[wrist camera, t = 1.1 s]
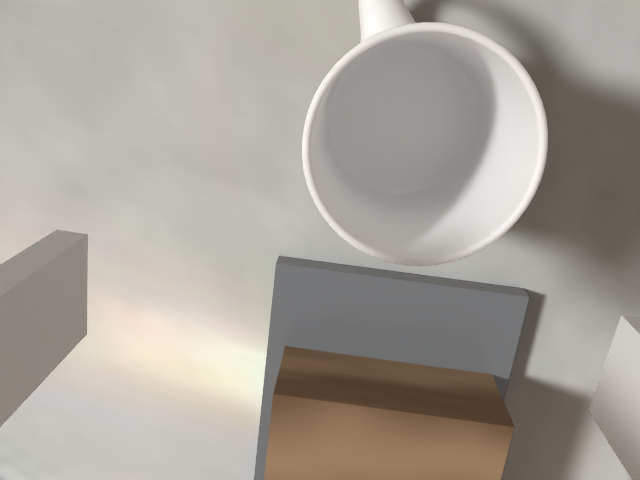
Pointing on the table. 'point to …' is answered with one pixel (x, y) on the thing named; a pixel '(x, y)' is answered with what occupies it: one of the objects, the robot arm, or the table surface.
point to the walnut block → (383, 421)
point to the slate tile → (389, 322)
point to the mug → (423, 139)
